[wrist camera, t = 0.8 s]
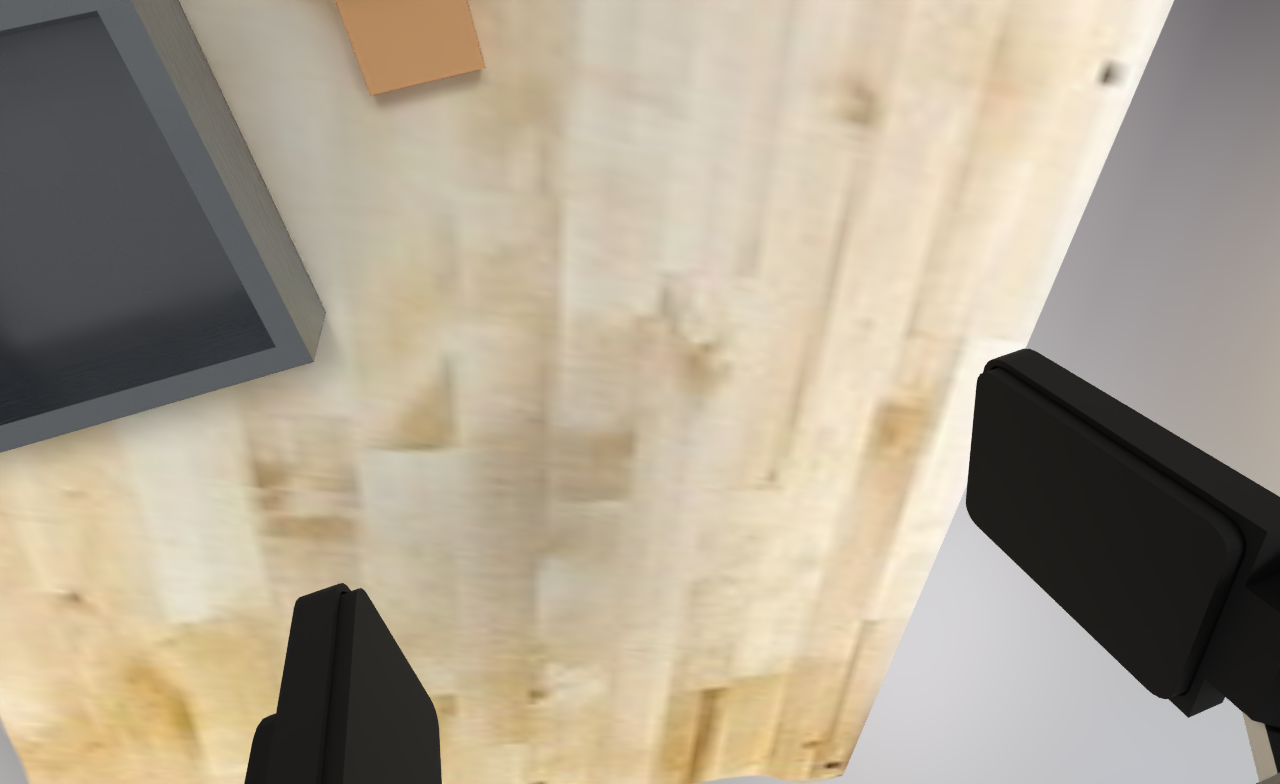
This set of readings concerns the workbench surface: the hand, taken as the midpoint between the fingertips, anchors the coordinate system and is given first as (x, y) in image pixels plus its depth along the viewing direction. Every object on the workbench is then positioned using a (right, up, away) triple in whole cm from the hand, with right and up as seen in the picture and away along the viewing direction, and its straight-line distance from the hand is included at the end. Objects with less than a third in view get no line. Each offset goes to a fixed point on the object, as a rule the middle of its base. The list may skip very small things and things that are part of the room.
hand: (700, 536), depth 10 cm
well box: (-23, +9, +17) cm, 30 cm away
